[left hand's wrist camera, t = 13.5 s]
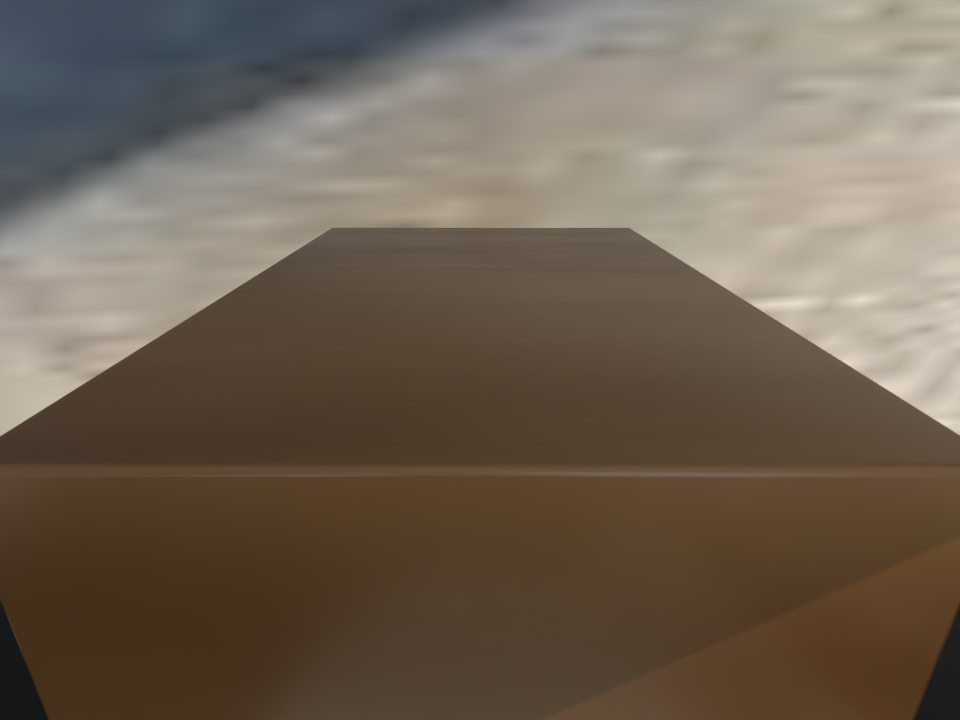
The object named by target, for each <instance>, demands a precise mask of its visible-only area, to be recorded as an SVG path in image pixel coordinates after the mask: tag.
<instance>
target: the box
mask: <svg viewBox="0 0 960 720" xmlns="http://www.w3.org/2000/svg"><path fill="white" fill-rule="evenodd" d="M0 601H1V603H2V606H3V608H4V611H5V613H6V616H7V618H8V621H9V623H10V626H11V628H12V631H13V633H14V636H15V638H16V641H17V643H18V646H19V648H20V651H21V653H22V656H23V658H24V661H25V663H26V666H27V668H28V670H29V673H30V675H31V678H32V680H33V683H34V685H35V688H36V690H37V693H38V695H39V698H40V700H41V703H42V705H43V708H44V710H45V713H46V715H47V718H48V720H915V717H916V715H917V712H918V710H919V707H920V705H921V702H922V700H923V697H924V695H925V692H926V690H927V687H928V685H929V683H930V680H931V678H932V675H933V673H934V670H935V668H936V665H937V663H938V660H939V658H940V655H941V653H942V650H943V648H944V645H945V643H946V640H947V638H948V636H949V633H950V631H951V628H952V626H953V623H954V621H955V618H956V616H957V613H958V611H959V608H960V435H959V434H957V433H955V432H954V431H952V430H951V429H949V428H947V427H946V426H944V425H943V424H941V423H939V422H938V421H936V420H935V419H933V418H931V417H930V416H928V415H927V414H925V413H923V412H922V411H920V410H919V409H917V408H915V407H914V406H912V405H911V404H909V403H907V402H906V401H904V400H903V399H901V398H899V397H898V396H896V395H895V394H893V393H892V392H890V391H888V390H887V389H885V388H884V387H882V386H880V385H879V384H877V383H876V382H874V381H872V380H871V379H869V378H868V377H866V376H864V375H863V374H861V373H860V372H858V371H856V370H855V369H853V368H852V367H850V366H848V365H847V364H845V363H844V362H842V361H840V360H839V359H837V358H836V357H834V356H832V355H831V354H829V353H828V352H826V351H824V350H823V349H821V348H820V347H818V346H817V345H815V344H813V343H812V342H810V341H809V340H807V339H805V338H804V337H802V336H801V335H799V334H797V333H796V332H794V331H793V330H791V329H789V328H788V327H786V326H785V325H783V324H781V323H780V322H778V321H777V320H775V319H773V318H772V317H770V316H769V315H767V314H765V313H764V312H762V311H761V310H759V309H757V308H756V307H754V306H753V305H751V304H750V303H748V302H746V301H745V300H743V299H742V298H740V297H738V296H737V295H735V294H734V293H732V292H730V291H729V290H727V289H726V288H724V287H722V286H721V285H719V284H718V283H716V282H714V281H713V280H711V279H710V278H708V277H706V276H705V275H703V274H702V273H700V272H698V271H697V270H695V269H694V268H692V267H690V266H689V265H687V264H686V263H684V262H682V261H681V260H679V259H678V258H676V257H675V256H673V255H671V254H670V253H668V252H667V251H665V250H663V249H662V248H660V247H659V246H657V245H655V244H654V243H652V242H651V241H649V240H647V239H646V238H644V237H643V236H641V235H639V234H638V233H636V232H635V231H633V230H631V229H629V228H332V229H330V230H329V231H327V232H325V233H324V234H322V235H321V236H319V237H317V238H316V239H314V240H313V241H311V242H309V243H308V244H306V245H305V246H303V247H301V248H300V249H298V250H297V251H295V252H293V253H292V254H290V255H289V256H287V257H286V258H284V259H282V260H281V261H279V262H278V263H276V264H274V265H273V266H271V267H270V268H268V269H266V270H265V271H263V272H262V273H260V274H258V275H257V276H255V277H254V278H252V279H250V280H249V281H247V282H246V283H244V284H242V285H241V286H239V287H238V288H236V289H234V290H233V291H231V292H230V293H228V294H227V295H225V296H223V297H222V298H220V299H219V300H217V301H215V302H214V303H212V304H211V305H209V306H207V307H206V308H204V309H203V310H201V311H199V312H198V313H196V314H195V315H193V316H191V317H190V318H188V319H187V320H185V321H183V322H182V323H180V324H179V325H177V326H175V327H174V328H172V329H171V330H169V331H167V332H166V333H164V334H163V335H161V336H160V337H158V338H156V339H155V340H153V341H152V342H150V343H148V344H147V345H145V346H144V347H142V348H140V349H139V350H137V351H136V352H134V353H132V354H131V355H129V356H128V357H126V358H124V359H123V360H121V361H120V362H118V363H116V364H115V365H113V366H112V367H110V368H108V369H107V370H105V371H104V372H102V373H101V374H99V375H97V376H96V377H94V378H93V379H91V380H89V381H88V382H86V383H85V384H83V385H81V386H80V387H78V388H77V389H75V390H73V391H72V392H70V393H69V394H67V395H65V396H64V397H62V398H61V399H59V400H57V401H56V402H54V403H53V404H51V405H49V406H48V407H46V408H45V409H43V410H41V411H40V412H38V413H37V414H35V415H34V416H32V417H30V418H29V419H27V420H26V421H24V422H22V423H21V424H19V425H18V426H16V427H14V428H13V429H11V430H10V431H8V432H6V433H5V434H3V435H2V436H0Z"/></svg>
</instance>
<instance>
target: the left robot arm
mask: <svg viewBox="0 0 960 720" xmlns="http://www.w3.org/2000/svg"><path fill="white" fill-rule="evenodd" d="M0 720H48V718H47V715H46V713H45V710H44V708H43V705H42V703H41V700H40V698H39V695H38V693H37V690H36V688H35V685H34V683H33V680H32V678H31V675H30V673H29V670H28V668H27V666H26V663H25V661H24V658H23V656H22V653H21V651H20V648H19V646H18V643H17V641H16V638H15V636H14V633H13V631H12V628H11V626H10V623H9V621H8V618H7V616H6V613H5V611H4V608H3V606H2V603H1V601H0ZM915 720H960V608H959V611H958V613H957V616H956V618H955V621H954V623H953V626H952V628H951V631H950V633H949V636H948V638H947V640H946V643H945V645H944V648H943V650H942V653H941V655H940V658H939V660H938V663H937V665H936V668H935V670H934V673H933V675H932V678H931V680H930V683H929V685H928V687H927V690H926V692H925V695H924V697H923V700H922V702H921V705H920V707H919V710H918V712H917V715H916V717H915Z"/></svg>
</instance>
